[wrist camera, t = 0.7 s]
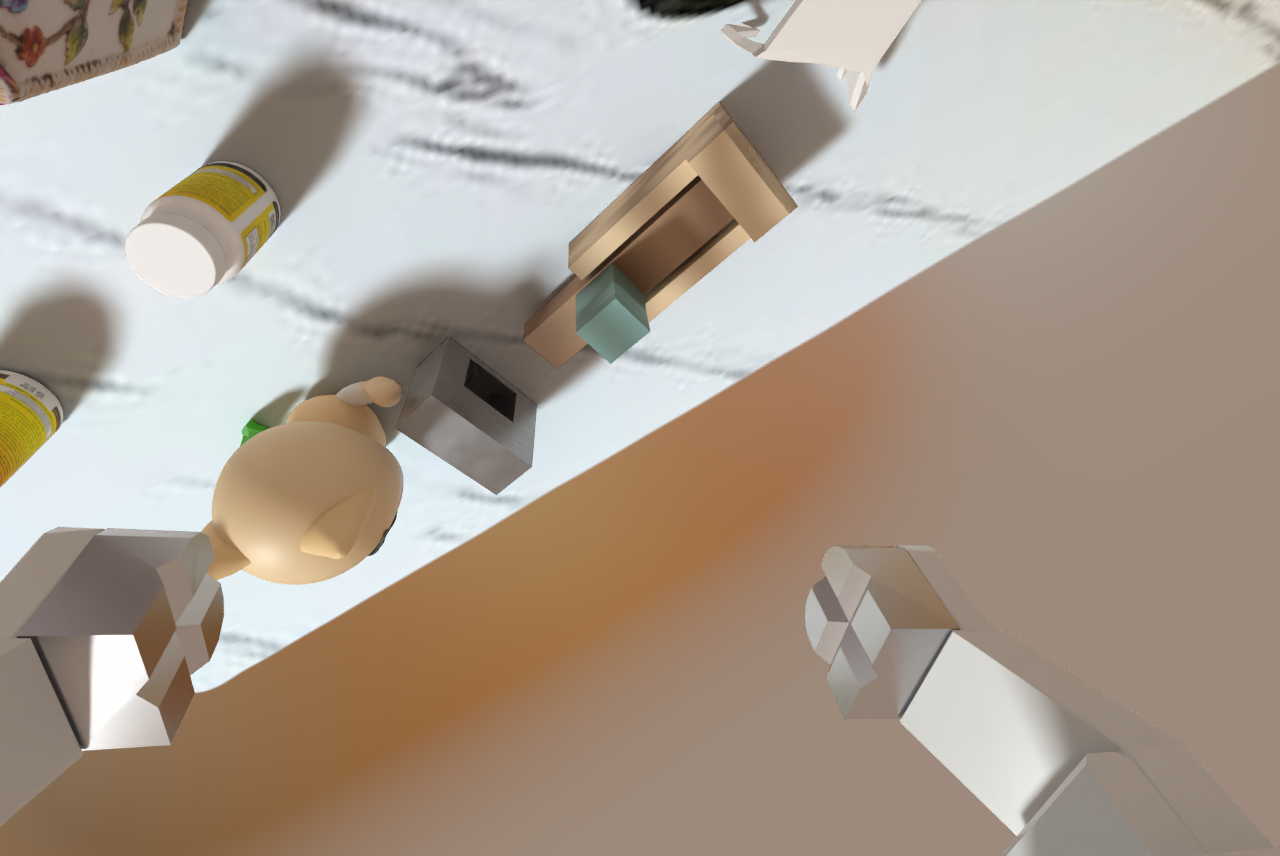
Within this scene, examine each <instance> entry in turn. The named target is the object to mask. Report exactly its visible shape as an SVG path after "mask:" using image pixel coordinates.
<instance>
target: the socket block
mask: <svg viewBox="0 0 1280 856" xmlns="http://www.w3.org/2000/svg"><path fill="white" fill-rule="evenodd" d="M536 409H537V404H536V403H534V402H533V401H532V400H531V399H529V398H528V397H527V396H525V395H524V394H523V393H522V392H520V391H519V390H518V389H516V388H515V387H514V386H513V385H511V384H510V383H509V382H507V381H506V380H505V379H504V378H502V377H501V376H500V375H498V374H497V373H496V372H494V371H493V370H492V369H491V368H489V367H488V366H487V365H485V364H484V363H483V362H482V361H480V360H479V359H478V358H476V357H475V356H474V355H473V354H471V353H470V352H469V351H467V350H466V349H465V348H464V347H462V346H461V345H460V344H458V343H457V342H456V341H455V340H453V339H452V338H451V337H448V338H447V339H446V340H445V341H444V342H443V343H442V344H441V345H440V346H439V347H437V348H436V349H435V350H434V351H433V352H432V353H431V354H430V355H429V356H428V357H427V358H426V359H425V360H424V361H423V362H422V363H421V364H420V365H419V366H418V367H417V369H416V371H415V374H414V377H413V380H412V383H411V386H410V389H409V392H408V395H407V398H406V400H405V403H404V406H403V409H402V412H401V415H400V418H399V421H398V424H397V427H396V429H397V430H399V431H400V432H402V433H403V434H405V435H406V436H408V437H409V438H411V439H412V440H414V441H415V442H417V443H418V444H420V445H421V446H423V447H425V448H426V449H428V450H429V451H431V452H432V453H434V454H435V455H437V456H438V457H440V458H441V459H443V460H444V461H446V462H447V463H449V464H450V465H452V466H453V467H455V468H456V469H458V470H459V471H461V472H462V473H464V474H465V475H467V476H468V477H470V478H472V479H473V480H475V481H476V482H478V483H479V484H481V485H482V486H484V487H485V488H487V489H488V490H490V491H491V492H493V493H494V494H496V495H497V494H498V493H500V492H501V491H502V490H503V489H505V488H506V487H507V486H508V485H510V484H511V483H512V482H513V481H515V480H516V479H517V478H518V477H520V476H521V475H522V474H523V473H525V472H526V471H527V470H528V469H530V468H531V467H532V461H533V448H534V435H535V422H536Z"/></svg>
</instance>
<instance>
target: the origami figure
mask: <svg viewBox="0 0 1280 856" xmlns="http://www.w3.org/2000/svg"><path fill="white" fill-rule="evenodd" d="M920 2H921V0H796V1H795V3H794V4H793V5H792V7H791V8H790V9H789V11H788V12H787V14H786V15H785V16H784V18H783V19H782V20H781V22H780V23H779V25H778V26H777V27H776V29H775V30H774V31H773V33H772V34H771V36H770V37H769V38H768V40H767V41H766V43H765V44H761V43H756V42H753V41H751V40H749V39H747V37H756V35H757V34H758V33H759V31H760V30H758V29H756V28H753V27H751V26H748V25H745V24H743V23H740V24H739V25H738V26H737V25H730V24H726V25H725V26H724V27H723V28H722V29H721V32H722V34H723V35H724V37H725V39H727V40H728V41H730V42H732V43H733V44H735V45H736V46H738V47H740V48H741V49H743V50H746V51H749V52H751V53H752V54H753V55H754V56H755V57H758V58H762V59H767V60H777V61H787V62H801V63H817V64H822V65H827V66H832V67H837V68H839V70H838V74H837V77H838V78H839V79H840V80H842V78H843V77H844V75H845V74H846V73H847V83H848V92H849V102H850V106H851V107H852V109H853V110H854V112H855V110H856V109H857V107H858V106H859V104H860V103H861V101H862V99H863V98H864V96H865V95H866V93H867V89H868V85H869V81H870V78H871V76H872V74H873V72H874V70H875V67H876V65H877V64H878V62H879V61H880V59H881V58H882V56H883V55H884V54H885V52H886V51H887V49H888V48H889V46H890V45H891V43H892V42H893V41H894V39H895V38H896V36H897V35H898V33H899V32H900V31H901V29H902V28H903V26H904V25H905V23H906V22H907V20H908V19H909V18H910V16H911V15H912V13H913V12H914V10H915V9H916V8H917V6H918V5H919V3H920Z"/></svg>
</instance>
